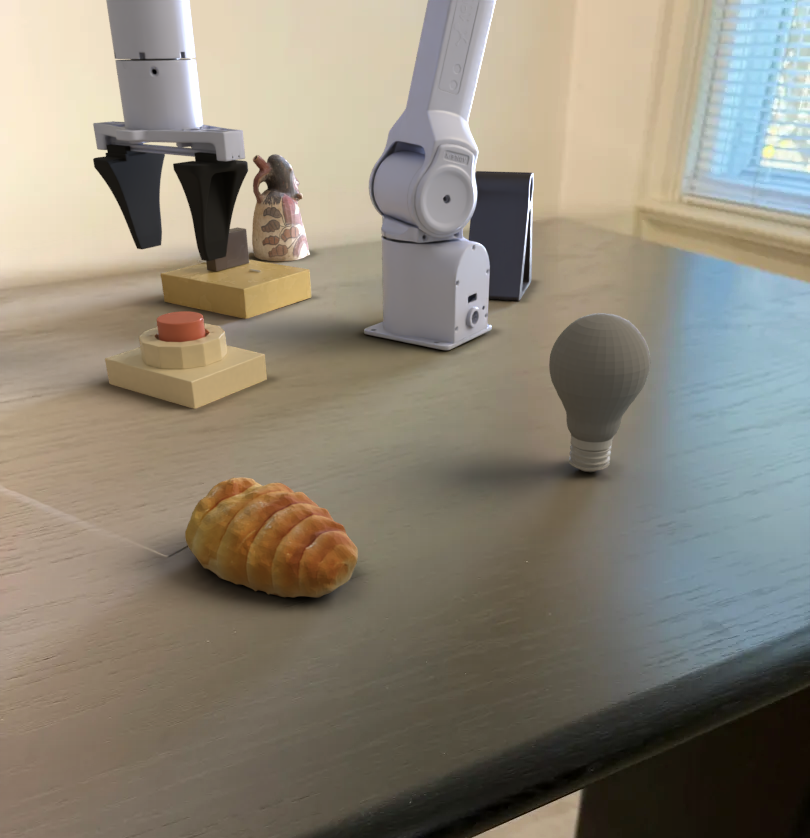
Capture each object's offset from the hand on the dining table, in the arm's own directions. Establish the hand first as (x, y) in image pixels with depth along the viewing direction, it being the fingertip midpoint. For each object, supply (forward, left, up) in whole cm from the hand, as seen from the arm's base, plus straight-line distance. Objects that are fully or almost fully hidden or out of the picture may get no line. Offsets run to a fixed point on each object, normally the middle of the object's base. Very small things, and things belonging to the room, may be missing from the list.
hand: (180, 252), depth 71 cm
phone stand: (-9, -37, -10) cm, 39 cm away
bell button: (-3, +3, -6) cm, 7 cm away
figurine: (+23, -37, -10) cm, 45 cm away
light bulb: (-37, 0, -10) cm, 38 cm away
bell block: (-3, +3, -9) cm, 10 cm away
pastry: (-28, +20, -10) cm, 35 cm away
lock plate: (+12, -18, -10) cm, 24 cm away
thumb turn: (+15, -19, -6) cm, 25 cm away
